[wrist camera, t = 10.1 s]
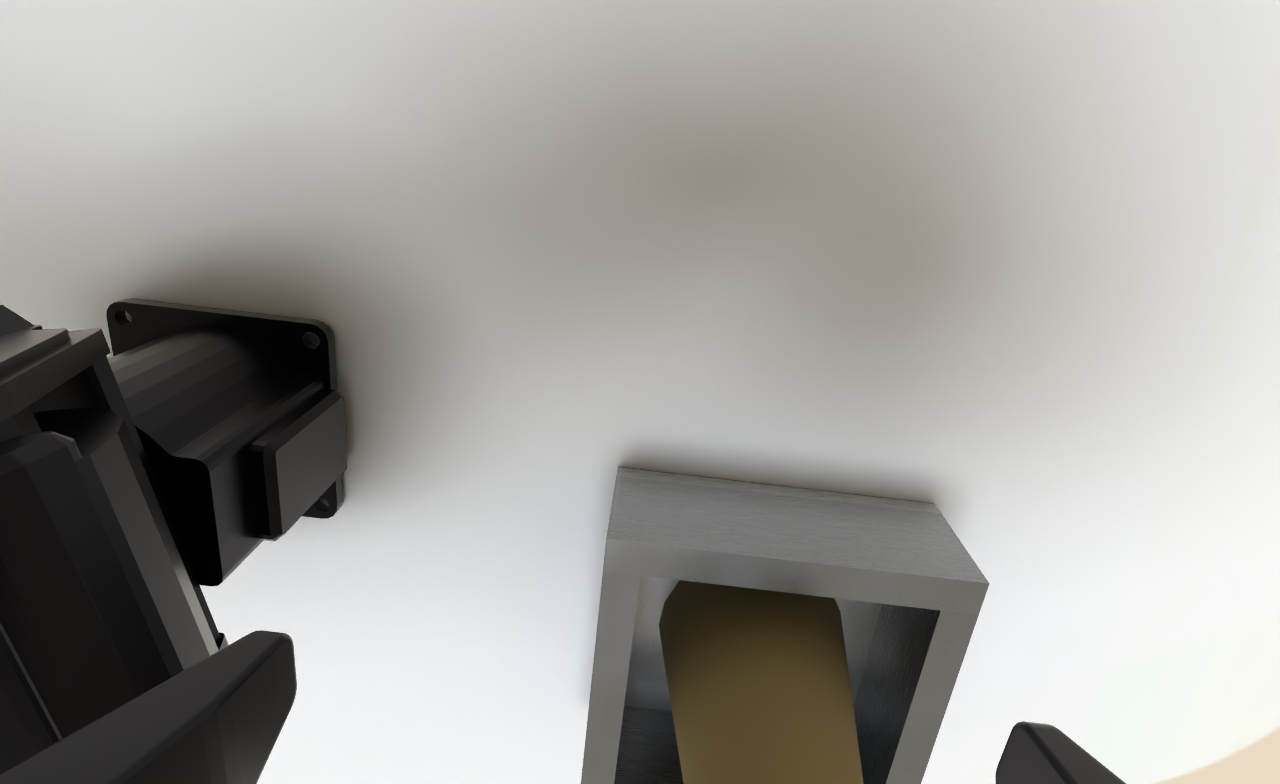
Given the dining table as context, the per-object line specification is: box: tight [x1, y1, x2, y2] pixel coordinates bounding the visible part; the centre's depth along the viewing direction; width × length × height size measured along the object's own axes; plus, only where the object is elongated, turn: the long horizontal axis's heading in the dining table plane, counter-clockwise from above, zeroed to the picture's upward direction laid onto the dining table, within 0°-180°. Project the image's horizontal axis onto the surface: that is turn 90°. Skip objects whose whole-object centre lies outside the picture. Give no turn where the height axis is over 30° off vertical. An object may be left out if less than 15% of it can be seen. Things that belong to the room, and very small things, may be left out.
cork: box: [659, 580, 864, 784], centre depth 18 cm, size 6×6×11 cm
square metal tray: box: [581, 467, 989, 784], centre depth 22 cm, size 10×10×4 cm
